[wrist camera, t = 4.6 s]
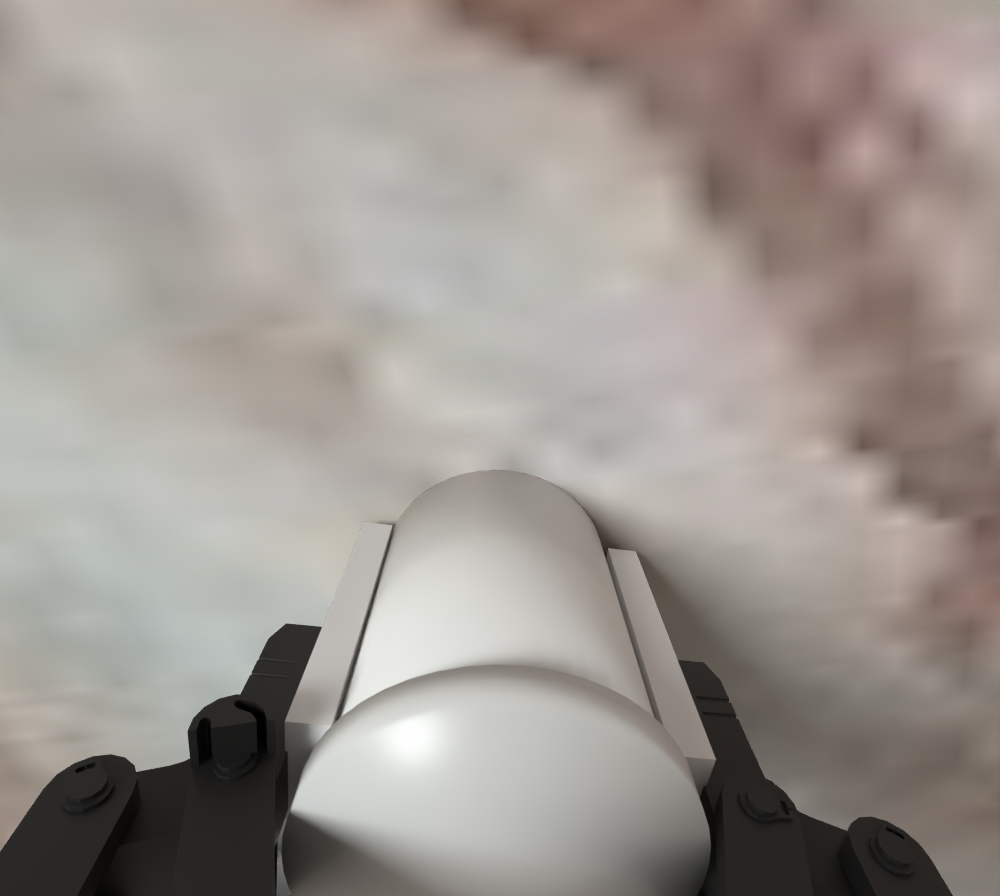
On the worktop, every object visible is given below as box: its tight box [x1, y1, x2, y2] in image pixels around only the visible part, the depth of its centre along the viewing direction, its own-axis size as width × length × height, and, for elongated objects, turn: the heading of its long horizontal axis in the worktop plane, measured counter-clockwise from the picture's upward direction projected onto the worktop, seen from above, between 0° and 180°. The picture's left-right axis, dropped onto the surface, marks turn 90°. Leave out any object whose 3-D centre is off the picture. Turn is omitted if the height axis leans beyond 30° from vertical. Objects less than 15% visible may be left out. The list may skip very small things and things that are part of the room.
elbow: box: [281, 470, 711, 896], centre depth 14 cm, size 9×7×8 cm
